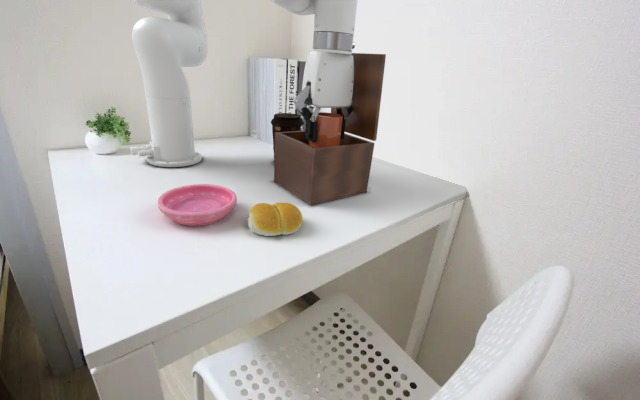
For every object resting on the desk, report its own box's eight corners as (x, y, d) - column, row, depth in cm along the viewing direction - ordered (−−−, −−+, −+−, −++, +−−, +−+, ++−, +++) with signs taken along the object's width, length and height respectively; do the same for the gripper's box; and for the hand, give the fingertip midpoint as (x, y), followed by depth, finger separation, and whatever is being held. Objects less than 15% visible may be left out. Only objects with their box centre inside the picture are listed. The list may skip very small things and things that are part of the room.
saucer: (250, 217, 53) (250, 200, 52) (177, 239, 45) (175, 220, 44) (216, 194, 61) (215, 179, 60) (149, 209, 53) (146, 192, 52)
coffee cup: (304, 161, 87) (307, 114, 82) (299, 170, 80) (302, 119, 74) (273, 157, 88) (275, 111, 82) (266, 166, 80) (267, 115, 75)
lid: (383, 54, 57) (401, 54, 60) (333, 52, 67) (350, 52, 70) (373, 141, 64) (390, 137, 67) (330, 127, 74) (346, 124, 77)
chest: (310, 205, 60) (315, 149, 55) (273, 181, 70) (274, 132, 66) (366, 192, 69) (374, 142, 64) (326, 172, 79) (331, 128, 75)
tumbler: (320, 162, 62) (324, 117, 59) (302, 154, 67) (304, 112, 64) (344, 159, 66) (349, 116, 63) (325, 151, 71) (329, 111, 67)
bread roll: (308, 234, 50) (310, 212, 48) (253, 241, 47) (252, 217, 45) (293, 212, 57) (294, 192, 55) (244, 216, 53) (243, 195, 52)
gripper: (352, 49, 66) (343, 133, 73) (282, 40, 56) (280, 138, 63) (378, 50, 60) (366, 140, 68) (306, 39, 50) (300, 146, 58)
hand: (324, 138), depth 65 cm, fingers closed on tumbler, 6 cm apart
